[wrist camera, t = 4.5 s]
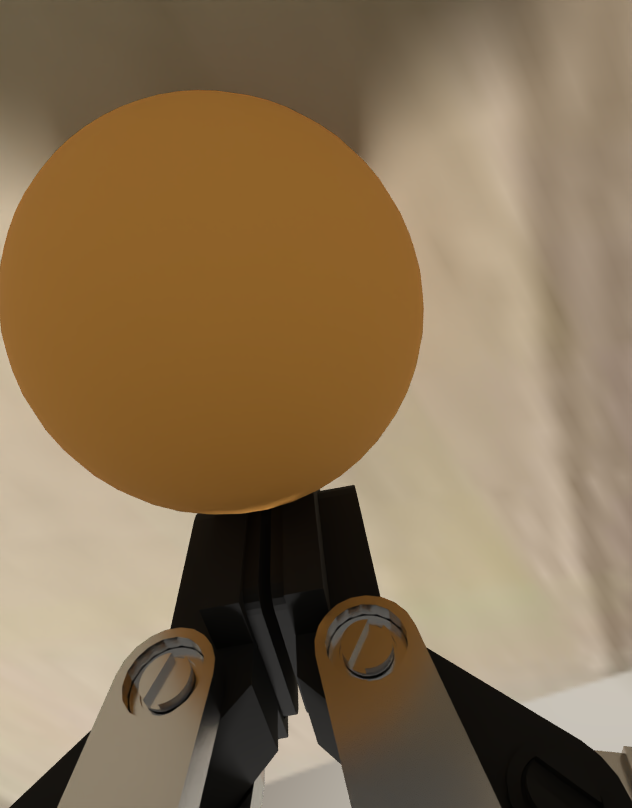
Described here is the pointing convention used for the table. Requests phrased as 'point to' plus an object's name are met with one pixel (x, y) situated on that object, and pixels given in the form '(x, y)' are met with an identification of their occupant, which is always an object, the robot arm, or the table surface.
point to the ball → (210, 302)
